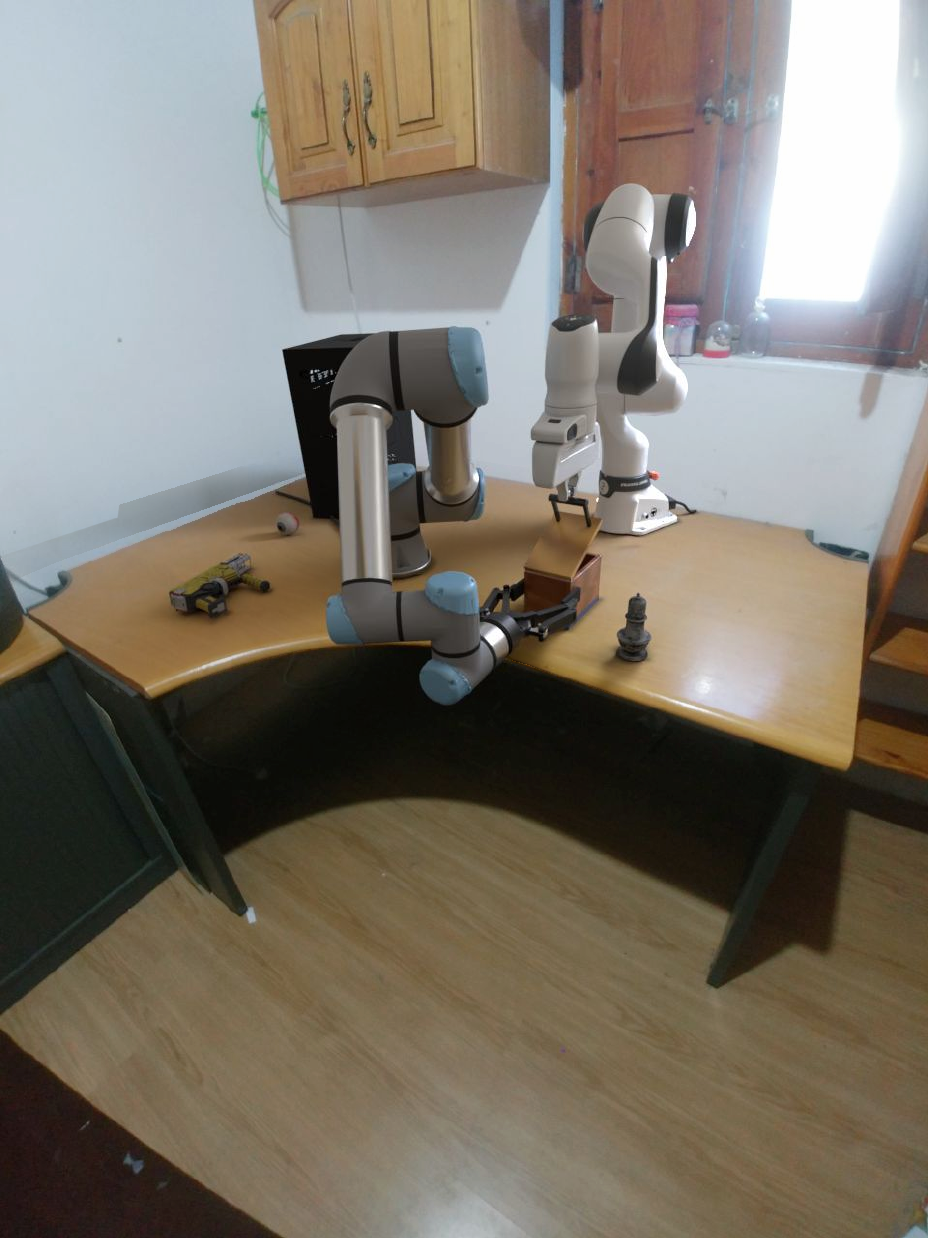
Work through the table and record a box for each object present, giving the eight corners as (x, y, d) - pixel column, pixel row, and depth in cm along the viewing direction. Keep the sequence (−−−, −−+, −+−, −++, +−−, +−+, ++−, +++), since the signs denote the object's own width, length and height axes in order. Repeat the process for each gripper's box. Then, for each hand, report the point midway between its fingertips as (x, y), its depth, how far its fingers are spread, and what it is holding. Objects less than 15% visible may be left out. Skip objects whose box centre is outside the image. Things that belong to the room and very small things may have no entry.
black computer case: (378, 519, 171) (356, 347, 149) (313, 517, 176) (282, 349, 153) (417, 479, 203) (403, 331, 180) (361, 478, 207) (341, 334, 185)
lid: (556, 514, 120) (549, 485, 114) (603, 522, 115) (597, 492, 109) (524, 570, 115) (514, 542, 109) (571, 581, 110) (563, 553, 104)
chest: (555, 589, 129) (557, 545, 124) (598, 599, 124) (601, 555, 119) (523, 617, 120) (523, 571, 115) (568, 629, 115) (570, 582, 110)
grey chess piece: (650, 663, 103) (658, 601, 97) (615, 660, 105) (620, 600, 99) (648, 644, 108) (655, 585, 102) (614, 642, 110) (620, 583, 104)
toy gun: (291, 561, 141) (237, 550, 145) (223, 605, 121) (163, 591, 125) (293, 579, 143) (240, 568, 147) (226, 625, 123) (167, 611, 127)
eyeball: (273, 537, 164) (268, 516, 161) (287, 528, 169) (282, 508, 166) (291, 539, 161) (286, 518, 158) (305, 530, 166) (301, 510, 163)
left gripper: (439, 641, 108) (503, 591, 123) (551, 679, 96) (607, 618, 112) (435, 605, 104) (503, 558, 120) (552, 639, 93) (609, 582, 108)
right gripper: (579, 407, 113) (576, 479, 120) (525, 432, 99) (525, 512, 106) (611, 409, 110) (606, 483, 117) (559, 435, 95) (557, 518, 102)
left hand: (553, 587), depth 116 cm, fingers closed on chest, 10 cm apart
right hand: (567, 497), depth 111 cm, fingers closed
